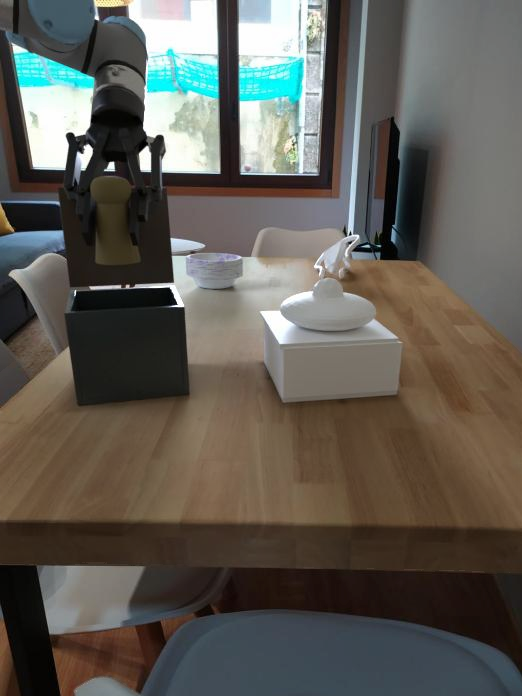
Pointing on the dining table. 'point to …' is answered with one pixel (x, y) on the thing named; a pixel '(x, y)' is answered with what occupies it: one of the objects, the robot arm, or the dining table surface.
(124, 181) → the cork
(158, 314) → the trash can
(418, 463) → the dining table surface
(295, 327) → the butter dish
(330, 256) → the white angular legged piece
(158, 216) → the bin lid
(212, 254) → the paper bowls
